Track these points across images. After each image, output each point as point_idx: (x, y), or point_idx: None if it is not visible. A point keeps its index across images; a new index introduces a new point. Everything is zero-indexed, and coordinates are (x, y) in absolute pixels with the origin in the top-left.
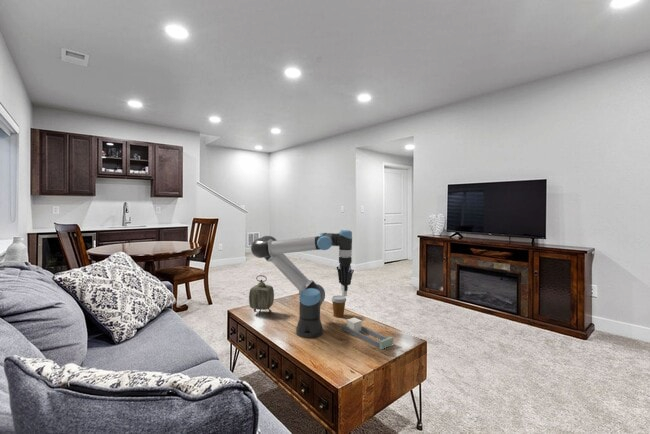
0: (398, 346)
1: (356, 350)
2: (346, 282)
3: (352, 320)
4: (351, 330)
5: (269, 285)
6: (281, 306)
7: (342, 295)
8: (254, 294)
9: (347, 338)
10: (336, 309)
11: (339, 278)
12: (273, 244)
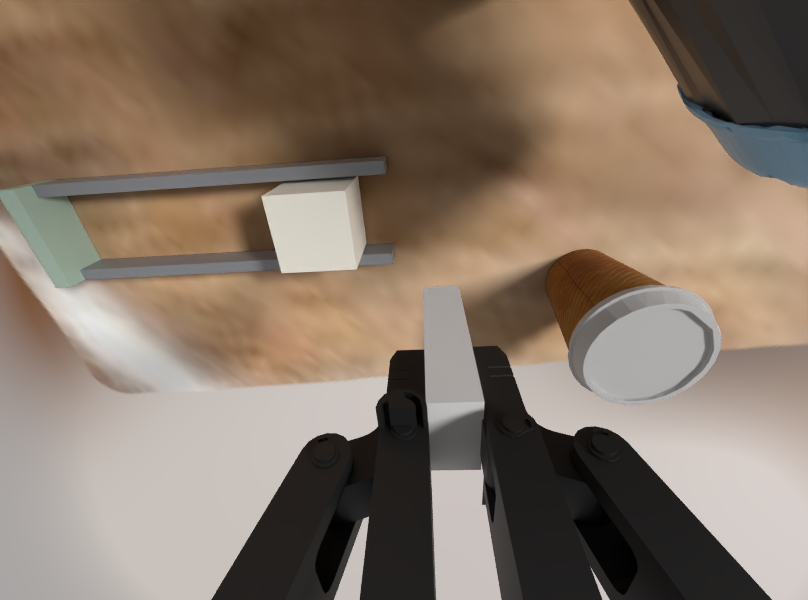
0: None
1: (47, 17)
2: (323, 498)
3: (310, 219)
4: (283, 167)
5: None
6: None
7: (446, 291)
8: None
9: (241, 90)
10: (589, 272)
11: (677, 556)
12: None
